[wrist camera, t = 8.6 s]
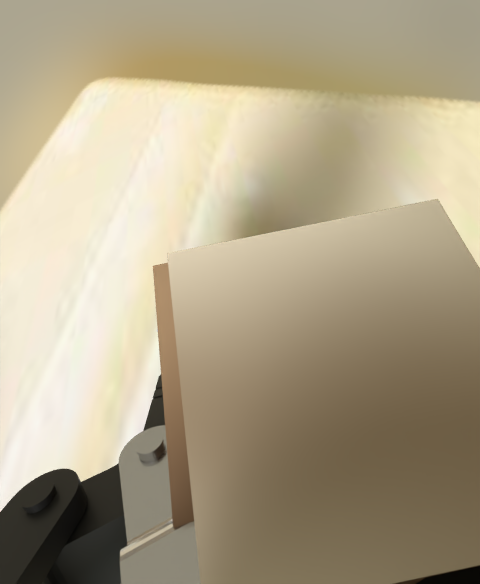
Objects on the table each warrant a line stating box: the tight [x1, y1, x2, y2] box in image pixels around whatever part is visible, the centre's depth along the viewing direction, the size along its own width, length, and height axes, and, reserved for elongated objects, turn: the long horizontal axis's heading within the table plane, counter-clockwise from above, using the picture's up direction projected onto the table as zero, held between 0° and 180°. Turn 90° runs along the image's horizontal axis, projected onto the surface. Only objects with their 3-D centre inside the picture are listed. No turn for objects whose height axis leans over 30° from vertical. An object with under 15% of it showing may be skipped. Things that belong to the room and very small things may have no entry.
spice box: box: [153, 199, 480, 584], centre depth 9 cm, size 5×5×12 cm
